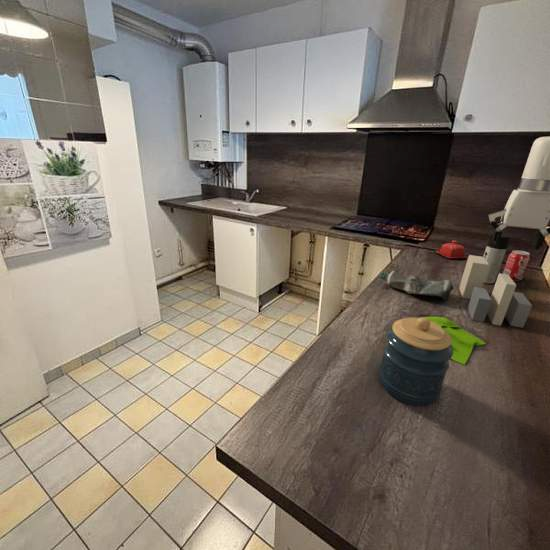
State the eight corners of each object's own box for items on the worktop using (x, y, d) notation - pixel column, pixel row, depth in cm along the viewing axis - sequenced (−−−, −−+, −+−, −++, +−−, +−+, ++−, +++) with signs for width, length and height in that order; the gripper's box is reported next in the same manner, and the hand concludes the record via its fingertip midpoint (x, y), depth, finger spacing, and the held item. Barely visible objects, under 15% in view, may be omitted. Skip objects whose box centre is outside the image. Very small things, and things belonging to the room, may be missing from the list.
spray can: (483, 276, 127) (498, 232, 119) (498, 283, 121) (515, 236, 113) (472, 278, 125) (486, 233, 117) (487, 285, 119) (503, 237, 111)
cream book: (494, 312, 98) (508, 274, 92) (501, 325, 90) (516, 285, 85) (485, 311, 99) (499, 273, 93) (491, 324, 91) (506, 283, 86)
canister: (453, 400, 63) (477, 330, 56) (403, 413, 59) (421, 341, 52) (411, 361, 74) (426, 300, 67) (367, 370, 71) (378, 307, 64)
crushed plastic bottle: (451, 293, 111) (384, 276, 123) (456, 276, 107) (387, 261, 120) (447, 309, 101) (375, 289, 114) (452, 292, 98) (378, 273, 110)
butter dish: (433, 252, 156) (437, 237, 153) (453, 252, 158) (457, 237, 154) (447, 260, 146) (452, 244, 142) (468, 259, 147) (473, 243, 144)
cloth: (445, 315, 95) (447, 309, 95) (507, 358, 76) (510, 351, 75) (389, 321, 91) (391, 315, 90) (440, 368, 72) (442, 361, 71)
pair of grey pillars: (513, 316, 96) (522, 293, 93) (522, 330, 88) (532, 305, 85) (467, 307, 101) (474, 285, 98) (471, 320, 93) (479, 296, 90)
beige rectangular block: (473, 290, 114) (483, 256, 108) (477, 300, 106) (489, 264, 101) (459, 288, 115) (468, 254, 110) (462, 297, 108) (473, 262, 102)
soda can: (524, 279, 125) (534, 253, 120) (518, 283, 121) (528, 256, 116) (505, 274, 130) (514, 248, 125) (498, 277, 126) (507, 251, 122)
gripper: (571, 187, 79) (547, 247, 86) (495, 183, 86) (478, 239, 93) (583, 189, 73) (556, 254, 80) (501, 185, 80) (482, 245, 87)
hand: (514, 246), depth 86 cm, fingers open, 9 cm apart
